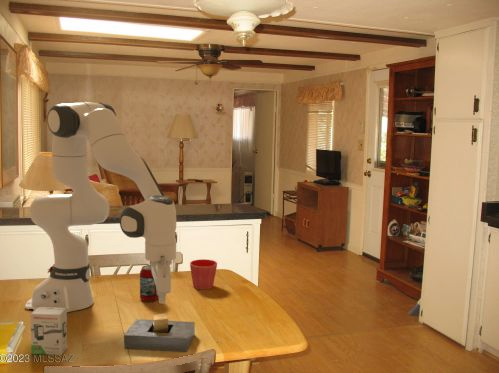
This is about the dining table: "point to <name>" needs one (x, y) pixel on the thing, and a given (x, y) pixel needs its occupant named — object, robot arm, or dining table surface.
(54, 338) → the ink box
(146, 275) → the beverage can
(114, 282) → the dining table surface
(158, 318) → the tilted wooden brick
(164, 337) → the jig
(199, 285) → the flower pot
